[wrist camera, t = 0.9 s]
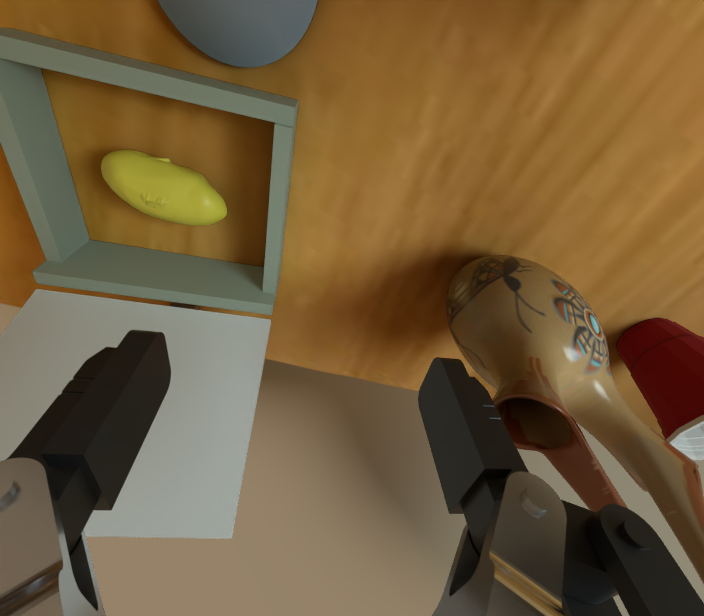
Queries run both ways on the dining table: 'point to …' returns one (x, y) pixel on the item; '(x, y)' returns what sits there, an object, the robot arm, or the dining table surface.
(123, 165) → the yellow oblong lump
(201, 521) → the lid
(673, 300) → the dining table surface
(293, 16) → the saucer
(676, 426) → the plastic cup
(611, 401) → the ceramic vessel
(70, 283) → the frame
